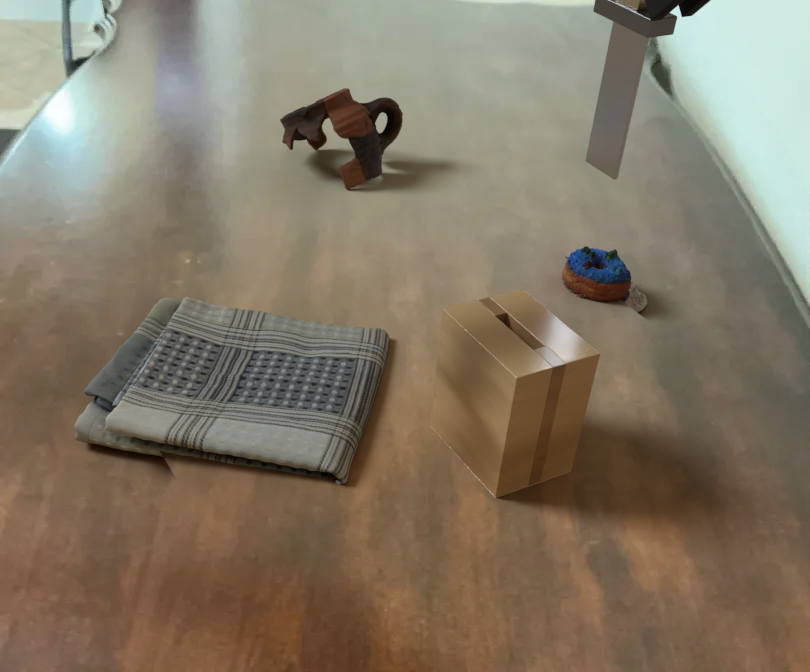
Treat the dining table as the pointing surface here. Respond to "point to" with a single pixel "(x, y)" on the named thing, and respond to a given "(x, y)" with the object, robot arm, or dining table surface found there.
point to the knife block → (511, 390)
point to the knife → (621, 78)
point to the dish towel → (238, 389)
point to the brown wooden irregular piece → (347, 131)
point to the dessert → (601, 278)
